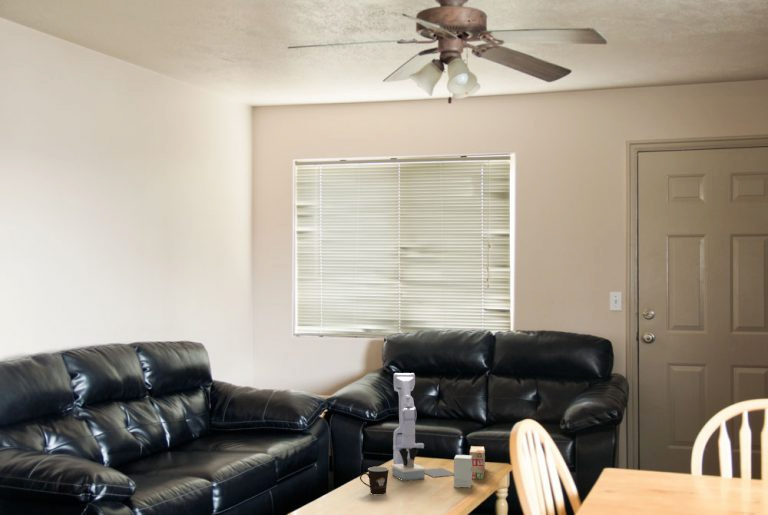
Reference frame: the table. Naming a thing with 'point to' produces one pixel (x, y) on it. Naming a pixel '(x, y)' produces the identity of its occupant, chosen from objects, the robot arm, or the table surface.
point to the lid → (408, 466)
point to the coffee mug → (377, 479)
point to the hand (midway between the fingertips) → (408, 465)
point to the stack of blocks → (478, 461)
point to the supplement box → (462, 471)
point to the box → (408, 475)
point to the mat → (438, 472)
